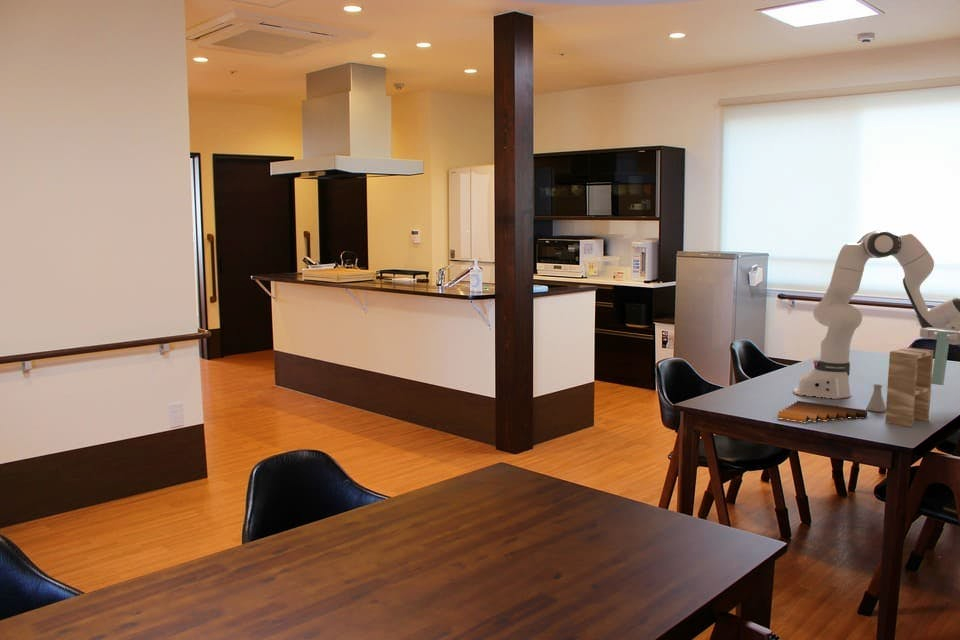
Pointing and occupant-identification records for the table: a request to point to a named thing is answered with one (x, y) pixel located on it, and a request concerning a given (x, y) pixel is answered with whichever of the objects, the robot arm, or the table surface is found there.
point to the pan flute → (818, 412)
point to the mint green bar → (940, 359)
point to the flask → (876, 400)
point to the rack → (909, 386)
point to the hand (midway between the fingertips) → (941, 336)
